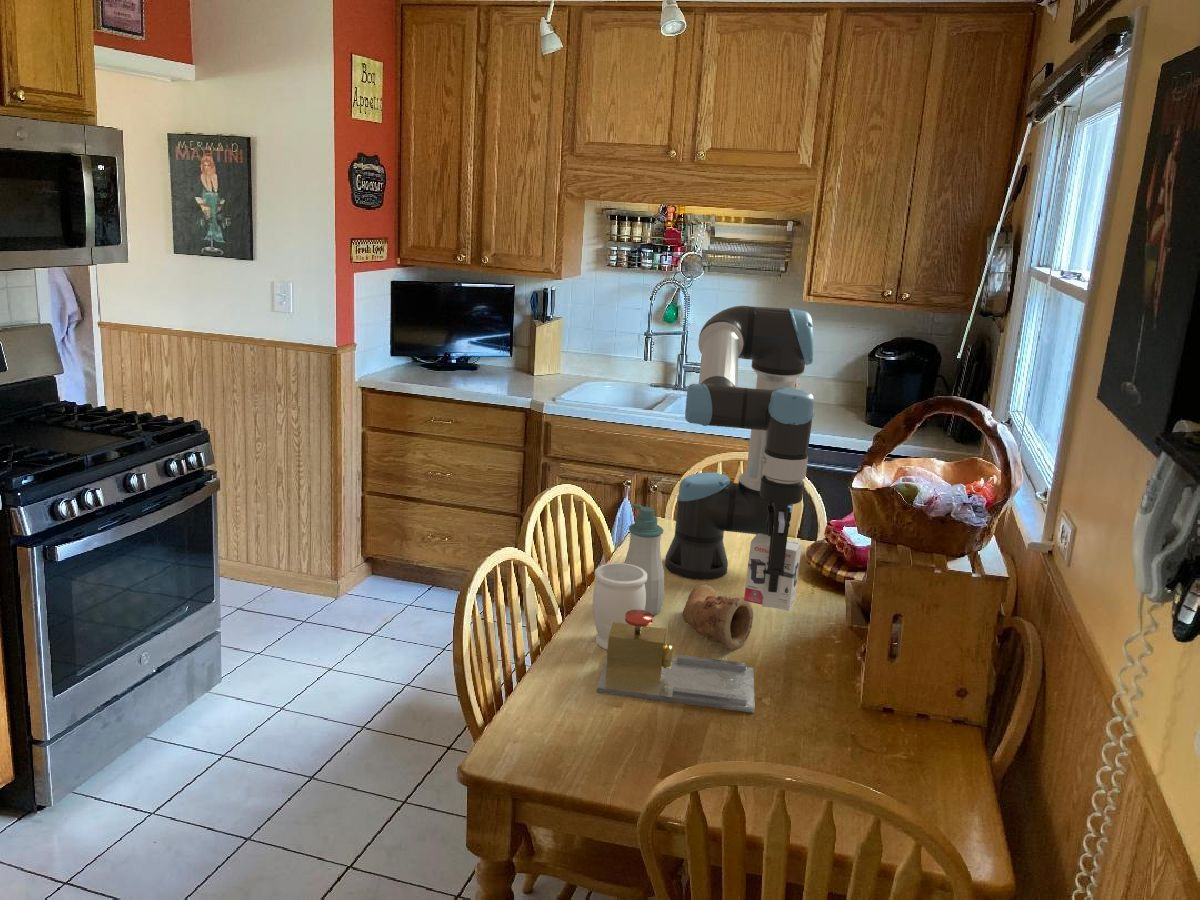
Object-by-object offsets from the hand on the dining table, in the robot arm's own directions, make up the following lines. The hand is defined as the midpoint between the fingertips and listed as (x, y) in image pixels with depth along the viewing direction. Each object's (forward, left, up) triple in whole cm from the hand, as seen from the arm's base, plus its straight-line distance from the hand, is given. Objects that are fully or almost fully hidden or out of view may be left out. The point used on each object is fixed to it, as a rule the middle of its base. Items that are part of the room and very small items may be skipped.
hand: (768, 598), depth 172 cm
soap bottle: (-26, -25, -17) cm, 40 cm away
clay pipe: (-18, -9, -17) cm, 27 cm away
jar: (-9, -28, -17) cm, 34 cm away
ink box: (0, 0, -1) cm, 1 cm away
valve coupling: (+4, -15, -17) cm, 23 cm away
